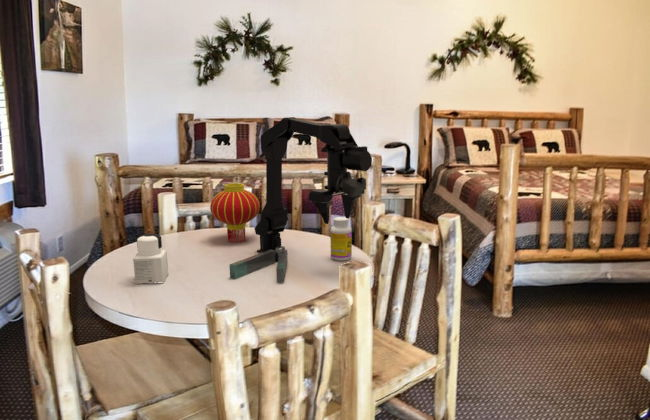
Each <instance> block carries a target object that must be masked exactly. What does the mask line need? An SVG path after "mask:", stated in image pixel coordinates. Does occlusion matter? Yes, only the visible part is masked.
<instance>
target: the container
mask: <svg viewBox="0 0 650 420" xmlns="http://www.w3.org/2000/svg"><path fill="white" fill-rule="evenodd" d="M162 241H163V240H162V236H161V235H160V234H157V233H145V234H141V235H139V236H138V237H137V238H136V244H137V245H136V246H137V253H136V255H134V257H133V259H132V260H133V261H132V262H133V271H134V272H133V273H134V283H155V282H156V283H158V282H165V281H166V280H167V278H166V277H168V276H169V262H168V250H167V249H163V243H162ZM167 275H168V276H167ZM164 280H165V281H164Z"/></svg>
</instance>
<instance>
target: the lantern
mask: <svg viewBox="0 0 650 420" xmlns="http://www.w3.org/2000/svg"><path fill="white" fill-rule="evenodd" d="M234 166H235V165H234V164H232V168H233V171H232V172H233V173H232V174H233V175H235V174H234V173H235V169H234ZM260 207H261V206H260V201H259V199H258V197H257V196H256V194H254V193H252V192H251V191H249V190H247V189H246V188H245V185H244V183H236V182H233V183H226V184H224V189H223V190H222V191H220V192H218V193H217V194H216V195H215V196H214V197H213V198H212V200H211V202H210V205H209V210H210V212H211V215H212V216H213V217H214V218H215V219H216V220H217V221H218V222H220V223H222V224H225V225H226V228H227V229H226V230H227V231H226V232H227V241H228V243H235V244H236V243H237V244H238V243H243V242H245V241H246V240H247V239H246V224H247V223H249V222H250V221H252V220H254V219H255V218H256V217H257V215H258V214H259V212H260Z"/></svg>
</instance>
